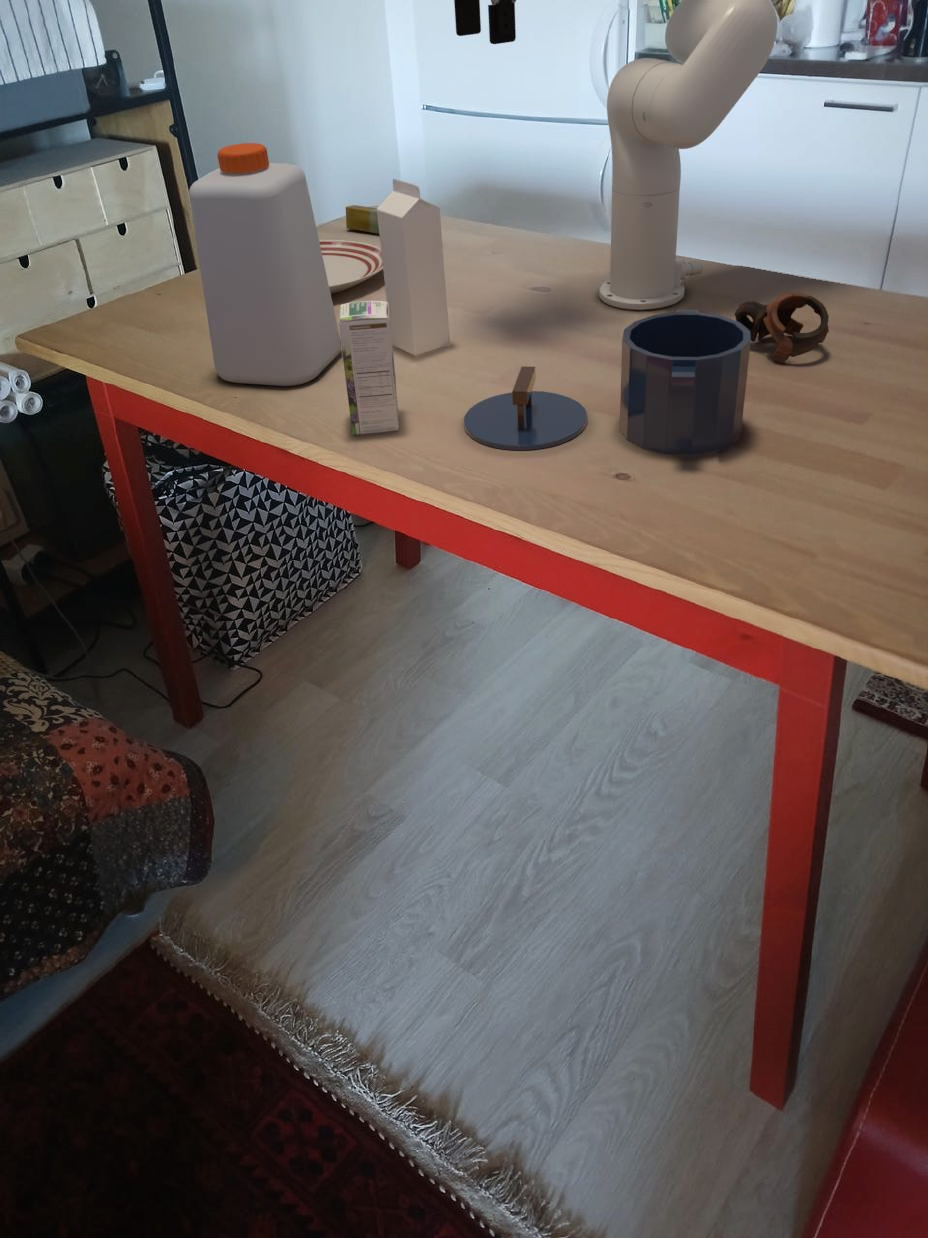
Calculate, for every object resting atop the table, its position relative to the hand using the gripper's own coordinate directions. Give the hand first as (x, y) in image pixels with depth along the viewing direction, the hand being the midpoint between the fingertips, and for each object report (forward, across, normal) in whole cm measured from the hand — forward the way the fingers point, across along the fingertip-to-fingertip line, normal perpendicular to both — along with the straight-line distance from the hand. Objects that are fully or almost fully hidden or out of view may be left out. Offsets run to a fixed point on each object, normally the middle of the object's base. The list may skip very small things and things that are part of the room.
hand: (485, 38), depth 125 cm
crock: (+37, -40, -4) cm, 54 cm away
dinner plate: (+37, +37, +17) cm, 55 cm away
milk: (+37, 0, +12) cm, 39 cm away
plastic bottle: (+37, +5, +31) cm, 49 cm away
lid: (+36, -30, +11) cm, 48 cm away
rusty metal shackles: (+37, -27, -28) cm, 54 cm away
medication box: (+37, +56, -2) cm, 67 cm away
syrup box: (+37, -20, +26) cm, 49 cm away
